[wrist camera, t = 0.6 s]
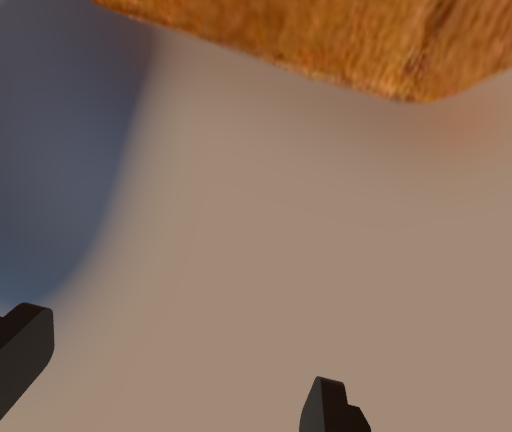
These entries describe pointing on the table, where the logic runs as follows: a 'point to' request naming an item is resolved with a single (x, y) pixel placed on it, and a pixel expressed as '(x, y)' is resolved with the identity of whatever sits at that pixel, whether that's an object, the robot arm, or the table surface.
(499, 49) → the table surface
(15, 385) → the robot arm
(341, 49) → the table surface
